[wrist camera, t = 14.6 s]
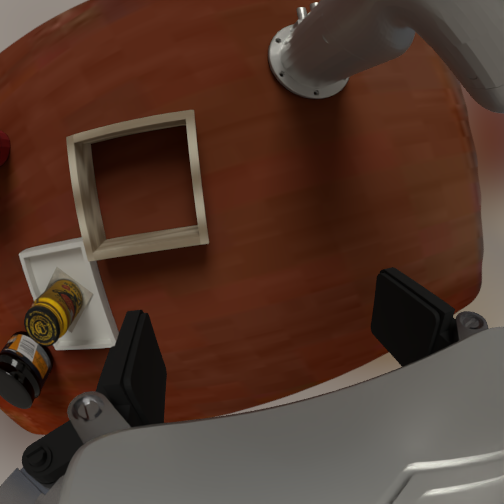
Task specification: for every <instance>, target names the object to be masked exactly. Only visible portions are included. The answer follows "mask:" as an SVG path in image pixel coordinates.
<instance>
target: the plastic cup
mask: <svg viewBox="0 0 504 504" xmlns="http://www.w3.org/2000/svg"><path fill="white" fill-rule="evenodd" d="M9 151H10V140H9V138H8V136H7V135H6V134H5V133H4V132H2V131H0V166H1V165H3V164H4V162H5V161H6V160H7V157H8V155H9Z"/></svg>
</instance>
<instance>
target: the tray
mask: <svg viewBox="0 0 504 504" xmlns="http://www.w3.org/2000/svg"><path fill="white" fill-rule="evenodd" d="M19 257H20V260H21V264H22V267H23V270H24V273H25V276H26V279H27V282H28V285H29V288H30V291H31V294H32V296H33V299H34V301H35V299H37V298H38V297H39V296H40V295H41V294H42V293H43V292H44V291H45V290H46V288H47V286H48V283H49V281H50V279H51V277H52V275H53V273H54V271H55V269H56V267H58V268H59V269H60V270H62V271H63V272H64V273H66V274H67V275H69V276H70V277H71V278H73V279H74V280H75V281H77V282H78V283H79V284H81V285H82V286H83V287H84V288H86V289H87V290H89V291H90V292H91V293H93V295H92V297H91V298H90V300H89V302H88V304H87V305H86V307H85V309H84V311H83V313H82V314H81V316H80V318H79V320H78V322H77V324H76V326H75V328H74V329H73V331H72V333H71V332H69V331H68V330H67V332H66V333H65V334H64V335H63V336H62V337H61V338H59V339H58V341H57V342H56V343H55V344H53V346H54V348H55V350H76V349H97V348H111V347H112V346H115V343H116V340H117V338H118V335H119V332H118V329H117V326H116V323H115V321H114V318H113V315H112V312H111V309H110V306H109V303H108V300H107V297H106V293H105V290H104V287H103V284H102V280H101V277H100V273H99V270H98V266H97V262H96V260H95V261H89V262H88V259H87V255H86V251H85V247H84V243H83V239H82V237H81V238H76V239H71V240H66V241H61V242H56V243H51V244H46V245H41V246H36V247H32V248H27V249H25V250H24V251H22V252H21V253H19Z"/></svg>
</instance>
